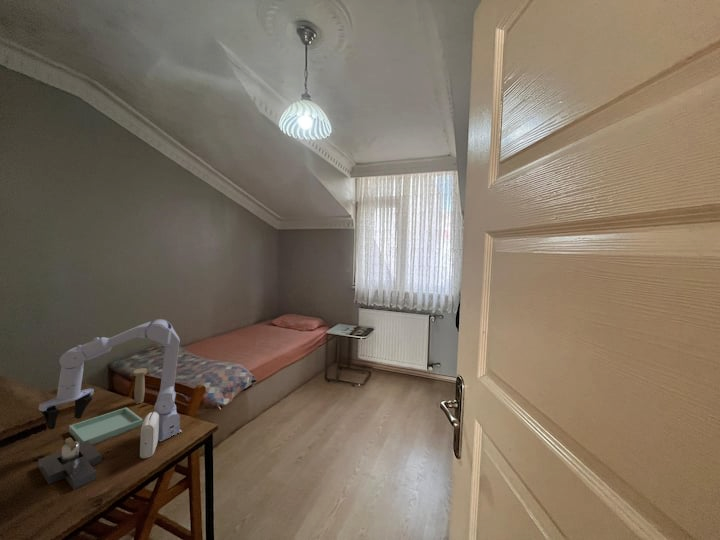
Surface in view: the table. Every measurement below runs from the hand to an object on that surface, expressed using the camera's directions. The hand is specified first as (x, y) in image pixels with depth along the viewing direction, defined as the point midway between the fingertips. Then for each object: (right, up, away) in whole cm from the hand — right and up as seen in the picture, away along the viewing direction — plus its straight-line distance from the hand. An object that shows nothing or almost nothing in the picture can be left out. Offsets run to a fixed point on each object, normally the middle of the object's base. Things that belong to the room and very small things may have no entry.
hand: (64, 422), depth 100 cm
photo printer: (+27, -12, +4) cm, 29 cm away
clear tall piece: (+8, -11, -6) cm, 14 cm away
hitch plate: (+11, -11, -8) cm, 17 cm away
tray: (+2, -10, +14) cm, 17 cm away
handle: (-1, -9, +35) cm, 36 cm away
